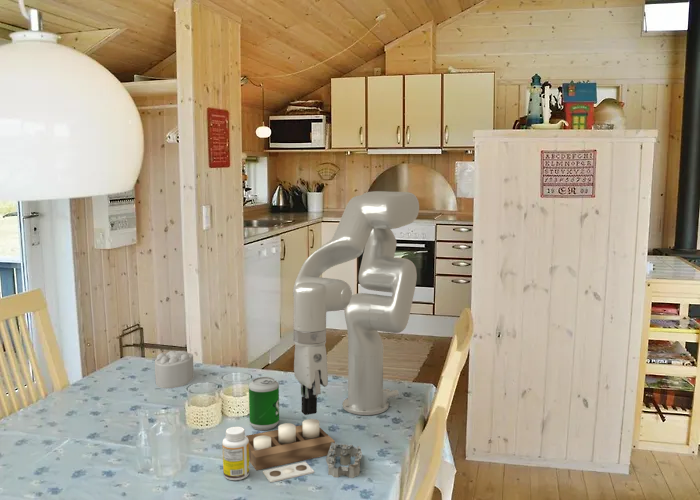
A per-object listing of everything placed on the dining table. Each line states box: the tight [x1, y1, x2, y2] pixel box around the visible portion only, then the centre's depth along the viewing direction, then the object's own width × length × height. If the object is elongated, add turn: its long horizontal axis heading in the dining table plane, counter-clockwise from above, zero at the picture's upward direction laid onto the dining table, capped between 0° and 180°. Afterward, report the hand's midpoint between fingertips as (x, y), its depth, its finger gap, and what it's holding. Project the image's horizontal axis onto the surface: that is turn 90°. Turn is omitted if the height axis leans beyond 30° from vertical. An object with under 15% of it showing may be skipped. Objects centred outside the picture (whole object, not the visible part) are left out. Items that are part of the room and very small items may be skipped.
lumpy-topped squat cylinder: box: [154, 350, 195, 389], centre depth 200 cm, size 10×13×9 cm
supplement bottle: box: [221, 426, 250, 481], centre depth 140 cm, size 6×6×10 cm
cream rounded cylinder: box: [254, 436, 271, 450], centre depth 149 cm, size 4×4×4 cm
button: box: [301, 418, 320, 440], centre depth 154 cm, size 4×4×4 cm
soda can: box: [248, 376, 280, 431], centre depth 166 cm, size 8×8×12 cm
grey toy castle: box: [325, 442, 363, 479], centre depth 144 cm, size 11×8×4 cm
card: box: [262, 461, 315, 483], centre depth 142 cm, size 10×5×1 cm, turn 116°
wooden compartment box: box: [245, 424, 336, 471], centre depth 152 cm, size 19×12×3 cm, turn 116°
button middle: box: [277, 422, 297, 445], centre depth 152 cm, size 4×4×4 cm
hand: (309, 412), depth 153 cm, fingers closed
